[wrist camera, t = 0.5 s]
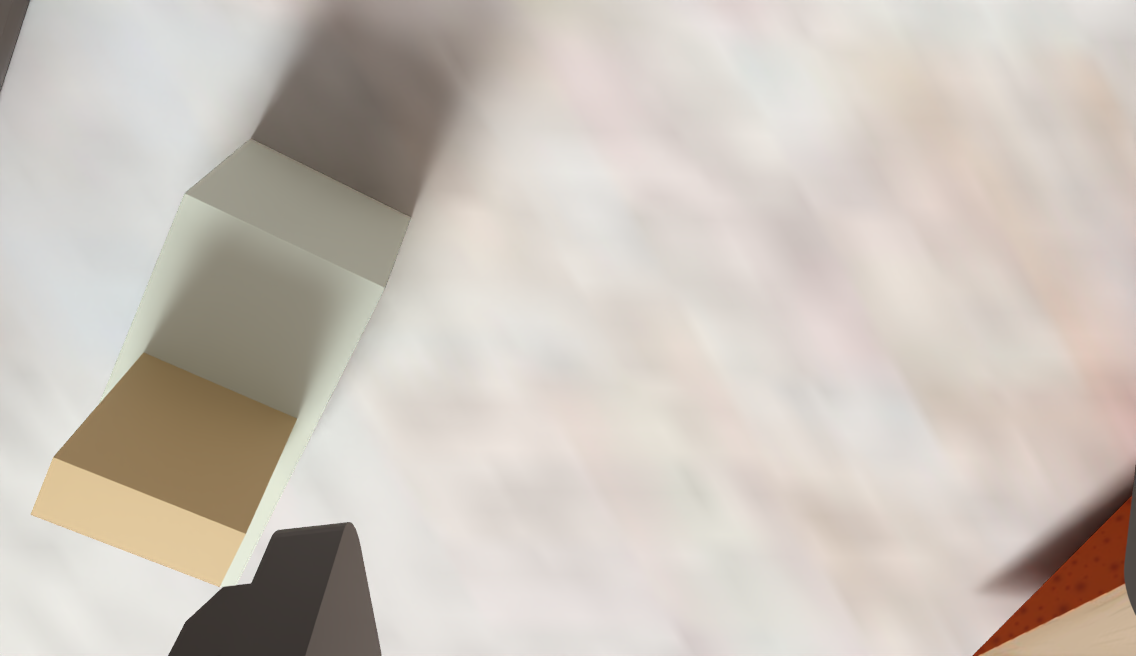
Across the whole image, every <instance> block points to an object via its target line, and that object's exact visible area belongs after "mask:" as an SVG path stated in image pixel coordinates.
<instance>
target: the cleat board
mask: <svg viewBox="0 0 1136 656" xmlns="http://www.w3.org/2000/svg"><path fill="white" fill-rule="evenodd" d="M28 3H29V0H0V90H1V87H2V84H3V81H4V78H5V75H6V72H7V69H8V65H9V62H10V59H11V56H12V53H13V50H14V47H15V44H16V41H17V37H18V34H19V31H20V28H21V25H22V22H23V19H24V16H25V13H26V10H27V6H28Z"/></svg>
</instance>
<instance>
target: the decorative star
mask: <svg viewBox="0 0 1136 656" xmlns="http://www.w3.org/2000/svg"><path fill="white" fill-rule="evenodd" d="M1131 502H1132V496H1131V497H1130V498H1129V499H1128V500H1127V501H1126V502H1125V503H1124V504H1123V505H1122V506H1121V507H1120V508H1119V509H1118V510H1117V511H1116V512H1115V513H1114V514H1113V515H1112V516H1111V517H1110V518H1109V519H1108V520H1107V521H1106V522H1105V523H1104V524H1103V525H1102V526H1101V527H1100V528H1099V529H1098V530H1097V531H1096V532H1095V533H1094V534H1093V535H1092V536H1091V537H1090V538H1089V539H1088V540H1087V541H1086V542H1085V543H1084V544H1083V545H1082V546H1081V547H1080V548H1079V549H1078V550H1077V551H1076V552H1075V553H1074V554H1073V555H1072V556H1071V557H1070V558H1069V559H1068V560H1067V561H1066V562H1065V563H1064V564H1063V565H1062V566H1061V567H1060V568H1059V569H1058V570H1057V571H1056V572H1055V573H1054V574H1053V575H1052V576H1051V577H1050V578H1049V579H1048V580H1047V581H1046V582H1045V583H1044V584H1043V585H1042V586H1041V587H1040V588H1039V589H1038V590H1037V591H1036V592H1035V593H1034V594H1033V595H1032V596H1031V597H1030V598H1029V599H1028V600H1027V601H1026V602H1025V603H1024V604H1023V605H1022V606H1021V607H1020V608H1019V609H1018V610H1017V611H1016V612H1015V613H1014V614H1013V615H1012V616H1011V617H1010V618H1009V619H1008V621H1007V622H1006V623H1005V624H1004V625H1003V626H1002V627H1001V628H1000V629H999V630H998V631H997V632H996V633H995V634H994V635H993V636H992V637H991V638H990V639H989V640H988V641H987V642H986V643H985V644H984V645H983V646H982V647H981V648H980V649H979V650H978V651H977V652H976V653H975V654H974V655H973V656H1136V615H1135V613H1134V611H1133V608H1132V606H1131V604H1130V601H1129V598H1128V594H1127V590H1126V586H1125V579H1124V562H1125V554H1126V545H1127V536H1128V528H1129V519H1130V510H1131Z"/></svg>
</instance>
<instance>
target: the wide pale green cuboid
mask: <svg viewBox="0 0 1136 656" xmlns="http://www.w3.org/2000/svg"><path fill="white" fill-rule="evenodd" d="M410 219H411V217H409V216H407V215H405V214H403V213H401V212H399V211H397V210H395V209H393V208H391V207H389V206H387V205H385V204H383V203H381V202H379V201H377V200H375V199H373V198H371V197H369V196H367V195H365V194H363V193H361V192H359V191H356V190H354V189H352V188H350V187H348V186H346V185H344V184H342V183H340V182H338V181H336V180H334V179H332V178H330V177H328V176H326V175H324V174H322V173H320V172H318V171H316V170H314V169H312V168H310V167H308V166H306V165H304V164H302V163H300V162H298V161H296V160H294V159H291V158H289V157H287V156H285V155H283V154H281V153H279V152H277V151H275V150H273V149H271V148H269V147H267V146H265V145H263V144H261V143H259V142H257V141H255V140H253V139H249V140H248V141H247V142H246V143H245V144H243V145H242V146H241V147H240V148H239V149H237V150H236V151H235V152H234V153H232V154H231V155H230V156H229V157H228V158H226V159H225V160H224V161H223V162H222V163H220V164H219V165H218V166H217V167H216V168H214V169H213V170H212V171H211V172H210V173H208V174H207V175H206V176H205V177H204V178H202V179H201V180H200V181H199V182H198V183H196V184H195V185H194V186H193V187H192V188H190V189H189V190H188V191H187V192H186V193H185V194H184V196H183V199H182V201H181V203H180V206H179V208H178V211H177V213H176V216H175V218H174V221H173V223H172V226H171V228H170V231H169V233H168V236H167V238H166V240H165V243H164V245H163V248H162V250H161V253H160V255H159V258H158V260H157V263H156V265H155V268H154V270H153V272H152V275H151V277H150V280H149V282H148V285H147V287H146V290H145V292H144V295H143V297H142V300H141V302H140V305H139V307H138V309H137V312H136V314H135V317H134V319H133V322H132V324H131V327H130V329H129V332H128V334H127V337H126V339H125V342H124V344H123V346H122V349H121V351H120V354H119V356H118V359H117V361H116V364H115V366H114V369H113V371H112V374H111V376H110V379H109V381H108V383H107V386H106V388H105V391H104V393H103V396H102V398H101V401H100V403H99V405H98V406H97V407H96V408H95V409H94V411H93V412H92V413H91V414H90V415H89V416H88V418H87V419H86V420H85V421H84V422H83V423H82V425H81V426H80V427H79V428H78V429H77V430H76V431H75V433H74V434H73V435H72V436H71V437H70V438H69V440H68V441H67V442H66V443H65V444H64V445H63V447H62V448H61V449H60V450H59V451H58V452H57V454H56V455H55V456H54V457H53V459H52V462H51V464H50V467H49V469H48V472H47V474H46V477H45V479H44V482H43V485H42V487H41V490H40V492H39V495H38V497H37V500H36V502H35V505H34V507H33V510H32V512H31V515H33V516H35V517H38V518H41V519H43V520H46V521H49V522H51V523H54V524H56V525H59V526H62V527H64V528H67V529H69V530H72V531H75V532H77V533H80V534H82V535H85V536H88V537H90V538H93V539H96V540H98V541H101V542H103V543H106V544H109V545H111V546H114V547H116V548H119V549H122V550H124V551H127V552H130V553H132V554H135V555H137V556H140V557H143V558H145V559H148V560H150V561H153V562H156V563H158V564H161V565H163V566H166V567H169V568H171V569H174V570H177V571H179V572H182V573H184V574H187V575H190V576H192V577H195V578H197V579H200V580H203V581H205V582H208V583H210V584H213V585H216V586H218V587H220V586H221V587H225V586H234V585H237V583H238V581H239V579H240V577H241V575H242V573H243V571H244V569H245V567H246V565H247V563H248V561H249V559H250V557H251V555H252V553H253V551H254V549H255V547H256V545H257V543H258V541H259V539H260V537H261V535H262V533H263V531H264V529H265V527H266V525H267V523H268V521H269V519H270V517H271V515H272V513H273V511H274V509H275V507H276V505H277V503H278V501H279V499H280V497H281V495H282V493H283V491H284V489H285V487H286V485H287V483H288V481H289V479H290V477H291V475H292V473H293V471H294V469H295V467H296V465H297V463H298V461H299V459H300V457H301V455H302V453H303V451H304V449H305V447H306V445H307V443H308V441H309V439H310V437H311V435H312V433H313V431H314V429H315V427H316V425H317V423H318V421H319V419H320V417H321V415H322V413H323V411H324V409H325V407H326V405H327V403H328V401H329V399H330V397H331V395H332V393H333V391H334V389H335V387H336V385H337V383H338V381H339V379H340V377H341V375H342V373H343V371H344V369H345V367H346V365H347V363H348V361H349V359H350V357H351V355H352V353H353V351H354V349H355V347H356V345H357V343H358V341H359V339H360V337H361V335H362V333H363V331H364V329H365V327H366V325H367V323H368V321H369V319H370V317H371V315H372V313H373V311H374V309H375V307H376V305H377V303H378V301H379V299H380V297H381V295H382V293H383V291H384V289H385V287H386V285H387V282H388V279H389V276H390V274H391V271H392V268H393V265H394V263H395V260H396V257H397V255H398V252H399V249H400V246H401V244H402V241H403V238H404V235H405V233H406V230H407V227H408V225H409V222H410Z"/></svg>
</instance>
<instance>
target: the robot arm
mask: <svg viewBox="0 0 1136 656" xmlns="http://www.w3.org/2000/svg"><path fill="white" fill-rule="evenodd" d="M1124 579H1125V586H1126V590H1127V594H1128V598H1129V601H1130V604H1131V606H1132V608H1133V611H1134V613H1135V615H1136V467H1135V475H1134V484H1133V493H1132V502H1131V510H1130V519H1129V528H1128V536H1127V545H1126V554H1125V562H1124ZM168 656H381V650H380V644H379V639H378V634H377V628H376V623H375V618H374V613H373V608H372V603H371V598H370V592H369V587H368V582H367V577H366V572H365V567H364V562H363V556H362V551H361V546H360V542H359V538H358V534H357V532H356V529H355V527H354V525H353V524H352V523H350V522H347V523H338V524H329V525H320V526H311V527H302V528H293V529H284V530H277V531H275V533H274V534H273V535H272V537H271V539H270V542H269V544H268V546H267V549H266V551H265V553H264V555H263V558H262V560H261V562H260V565H259V567H258V569H257V572H256V574H255V576H254V579H253V581H252V583H251V584H243V585H234V586H225V587H223V588H222V589H221V590H219V591H218V592H217V593H216V594H215V595H214V596H213V597H212V598H211V599H210V600H209V601H208V602H207V603H205V604H204V605H203V606H202V607H201V608H200V609H199V610H198V611H197V612H196V613H195V614H194V615H193V616H191V617H190V618H189V619H188V620H187V621H186V622H185V624H184V626H183V628H182V630H181V632H180V634H179V636H178V638H177V640H176V642H175V644H174V645H173V647H172V649H171V651H170V653H169V655H168Z"/></svg>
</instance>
